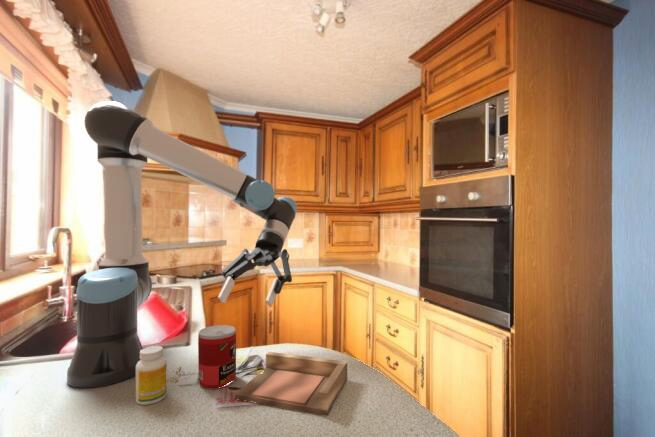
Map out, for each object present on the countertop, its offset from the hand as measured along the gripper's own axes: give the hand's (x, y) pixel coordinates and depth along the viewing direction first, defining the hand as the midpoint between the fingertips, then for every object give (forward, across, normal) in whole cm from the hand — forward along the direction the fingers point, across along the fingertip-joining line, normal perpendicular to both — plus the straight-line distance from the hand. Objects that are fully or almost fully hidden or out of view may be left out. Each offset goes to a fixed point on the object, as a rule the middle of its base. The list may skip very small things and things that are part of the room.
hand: (244, 302), depth 82 cm
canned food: (+18, 0, -3) cm, 18 cm away
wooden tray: (+17, -17, -4) cm, 24 cm away
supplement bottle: (+25, +8, +4) cm, 27 cm away
